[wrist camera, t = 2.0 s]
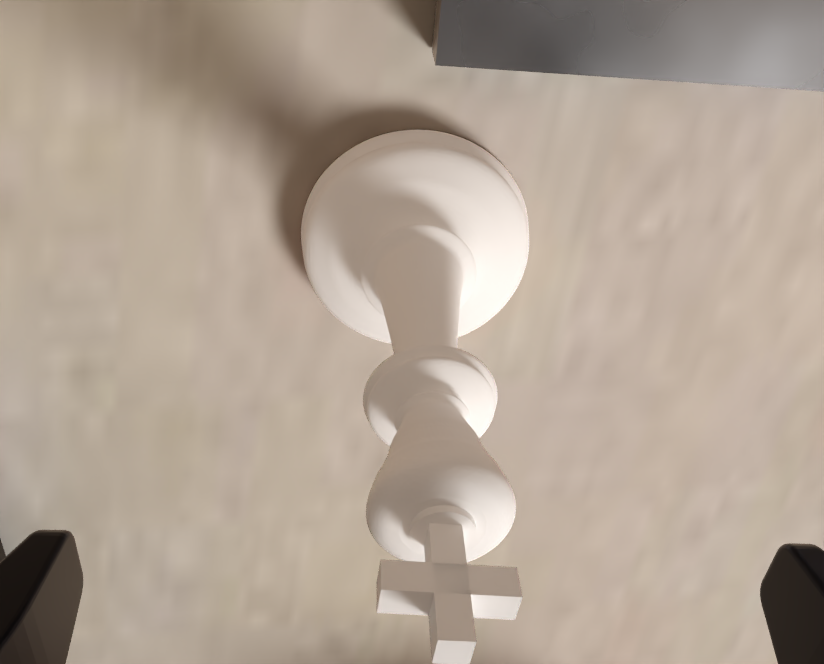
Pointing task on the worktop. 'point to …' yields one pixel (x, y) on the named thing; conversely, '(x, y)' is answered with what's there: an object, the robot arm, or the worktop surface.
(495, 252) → the chess piece
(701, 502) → the worktop surface
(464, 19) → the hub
